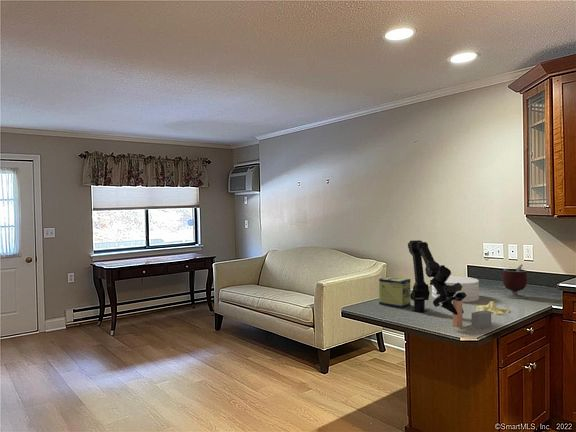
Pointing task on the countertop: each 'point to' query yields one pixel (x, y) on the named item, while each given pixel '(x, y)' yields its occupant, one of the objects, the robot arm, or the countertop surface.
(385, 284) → the protein box
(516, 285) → the mate gourd
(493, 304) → the cloth
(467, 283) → the plate stack
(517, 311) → the countertop surface
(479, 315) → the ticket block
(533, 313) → the countertop surface
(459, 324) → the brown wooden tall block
